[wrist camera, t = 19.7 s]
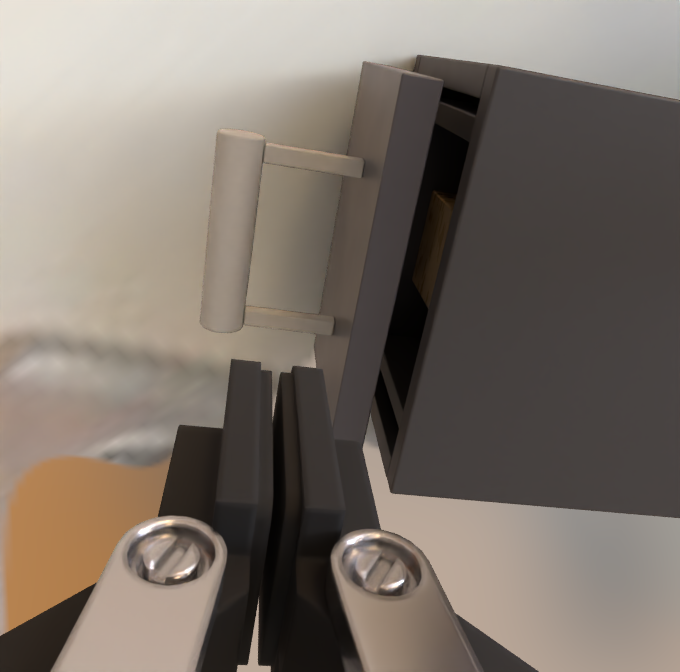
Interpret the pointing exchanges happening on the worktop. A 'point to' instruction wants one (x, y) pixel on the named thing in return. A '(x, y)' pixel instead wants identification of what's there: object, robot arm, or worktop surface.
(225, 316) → the grey drawer with handle
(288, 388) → the robot arm
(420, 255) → the block
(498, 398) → the grey open box
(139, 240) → the worktop surface
